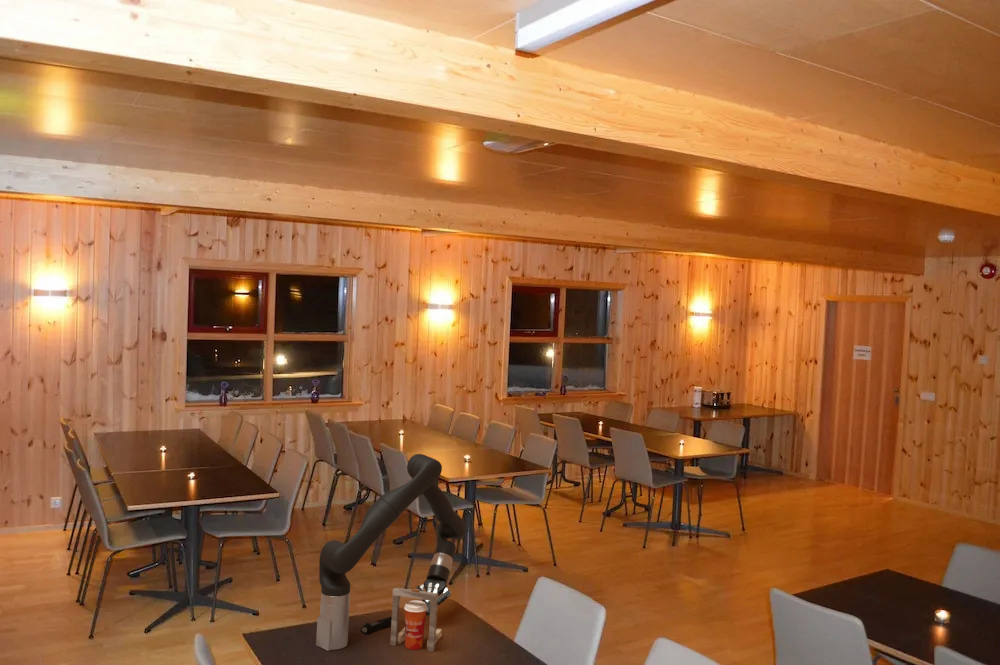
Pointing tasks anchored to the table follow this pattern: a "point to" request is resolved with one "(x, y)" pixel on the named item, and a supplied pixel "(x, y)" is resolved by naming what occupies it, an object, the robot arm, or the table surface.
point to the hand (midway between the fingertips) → (427, 614)
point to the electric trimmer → (376, 625)
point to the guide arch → (398, 638)
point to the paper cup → (414, 624)
